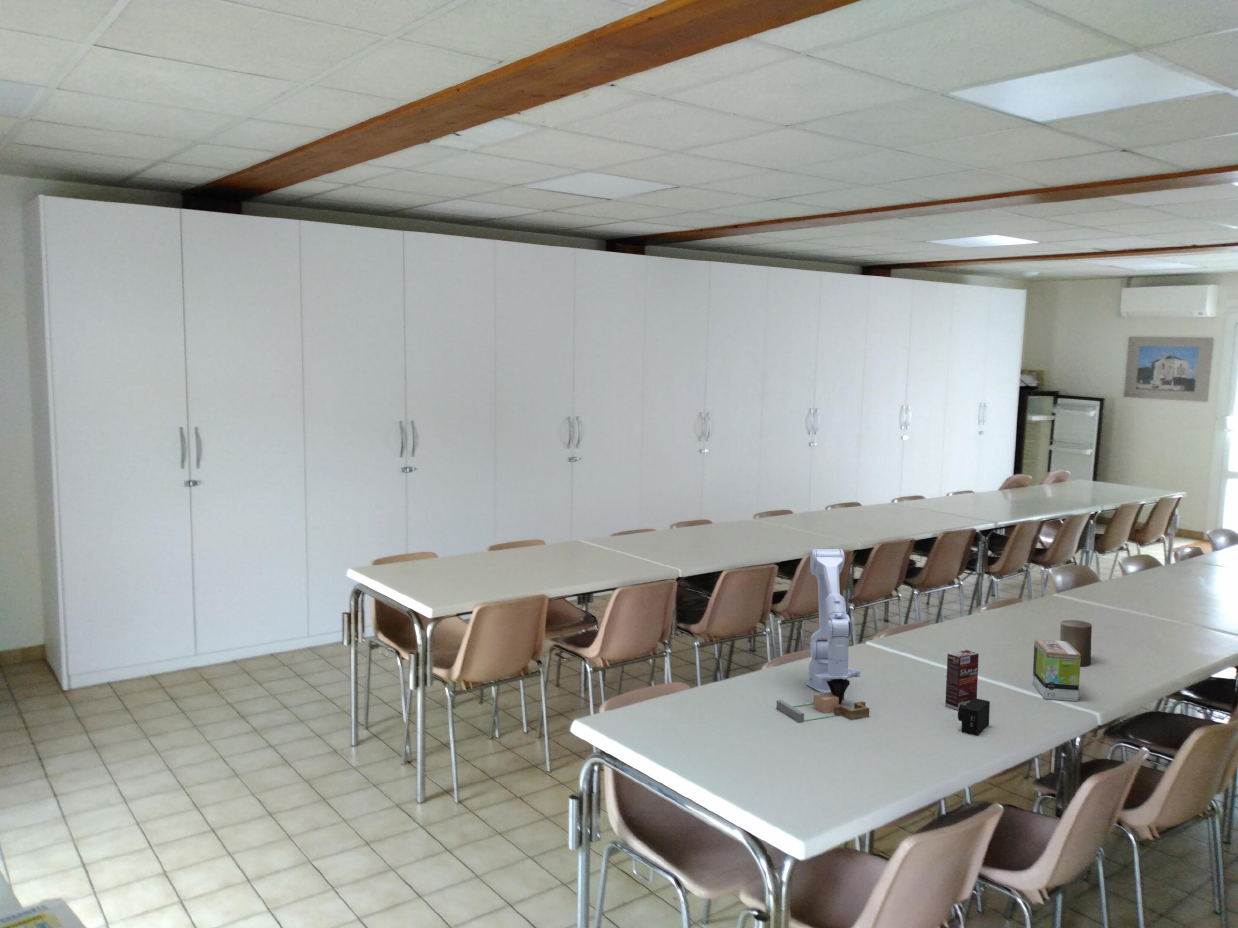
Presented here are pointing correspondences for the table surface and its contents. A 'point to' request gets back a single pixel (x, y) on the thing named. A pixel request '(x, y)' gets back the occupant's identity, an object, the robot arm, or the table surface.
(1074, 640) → the pillar candle
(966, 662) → the supplement box
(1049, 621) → the table surface
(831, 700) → the block
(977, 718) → the digital camera
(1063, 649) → the tea box
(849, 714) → the channel
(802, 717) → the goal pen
